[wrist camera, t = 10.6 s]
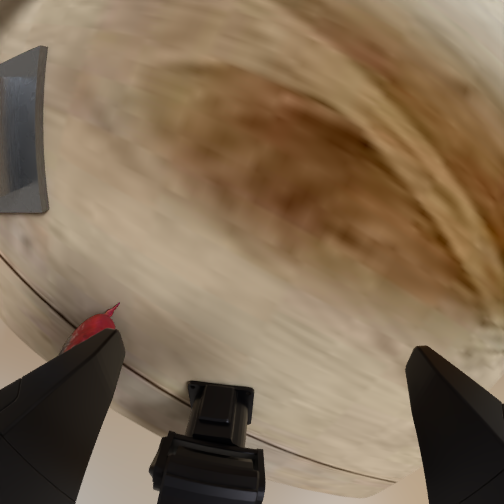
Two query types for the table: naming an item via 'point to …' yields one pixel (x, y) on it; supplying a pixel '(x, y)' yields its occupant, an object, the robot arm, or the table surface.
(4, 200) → the square socket
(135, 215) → the table surface
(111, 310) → the decorative bird figurine
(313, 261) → the table surface
